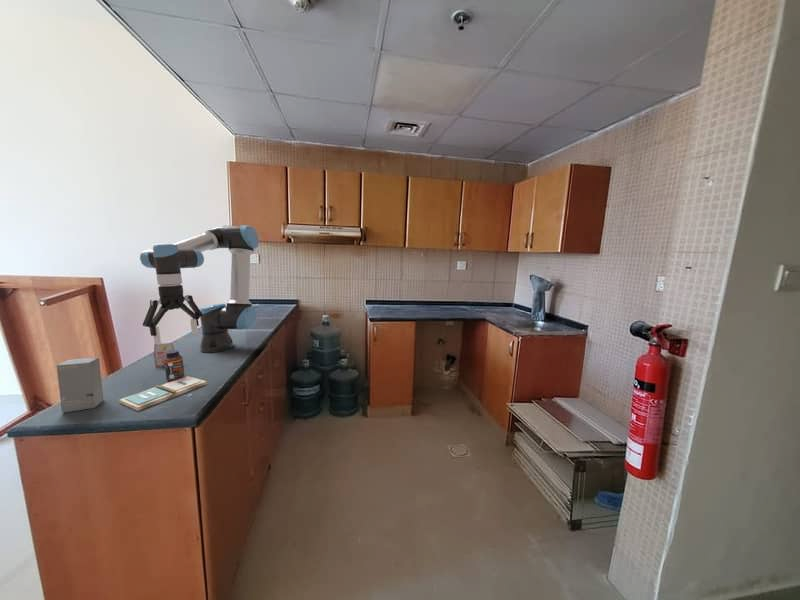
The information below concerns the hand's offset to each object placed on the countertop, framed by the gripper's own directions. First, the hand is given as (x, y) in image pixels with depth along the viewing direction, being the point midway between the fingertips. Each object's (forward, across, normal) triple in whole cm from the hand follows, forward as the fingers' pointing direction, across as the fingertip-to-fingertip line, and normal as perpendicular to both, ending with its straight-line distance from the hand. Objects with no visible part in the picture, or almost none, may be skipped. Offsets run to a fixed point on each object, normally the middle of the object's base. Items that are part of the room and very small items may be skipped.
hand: (177, 339), depth 120 cm
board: (+17, +10, +7) cm, 21 cm away
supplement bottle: (+17, 0, -4) cm, 17 cm away
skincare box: (+17, +26, -8) cm, 32 cm away
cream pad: (+15, +4, +7) cm, 18 cm away
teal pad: (+16, +15, +7) cm, 23 cm away
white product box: (+17, -7, -24) cm, 31 cm away
